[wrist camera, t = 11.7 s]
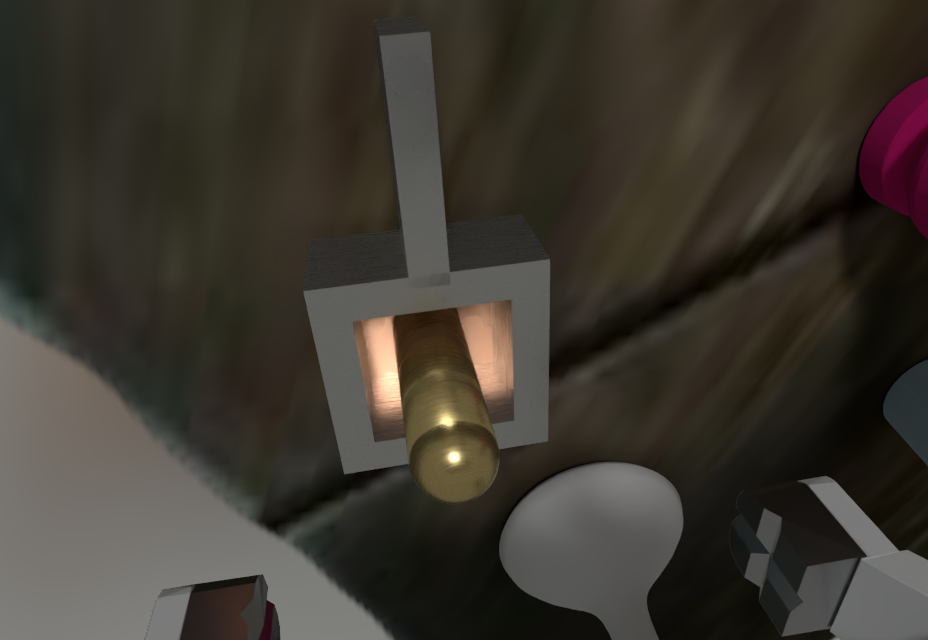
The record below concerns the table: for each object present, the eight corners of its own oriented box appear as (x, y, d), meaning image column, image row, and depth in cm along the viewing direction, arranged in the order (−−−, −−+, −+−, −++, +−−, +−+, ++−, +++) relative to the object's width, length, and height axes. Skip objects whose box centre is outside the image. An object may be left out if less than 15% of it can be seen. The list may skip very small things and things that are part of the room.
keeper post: (326, 253, 27) (316, 415, 18) (504, 231, 28) (583, 375, 19) (353, 396, 32) (357, 588, 22) (508, 373, 32) (574, 549, 23)
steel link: (265, 29, 22) (248, 47, 18) (518, 7, 23) (552, 20, 19) (344, 408, 31) (344, 474, 27) (523, 381, 32) (547, 441, 28)
